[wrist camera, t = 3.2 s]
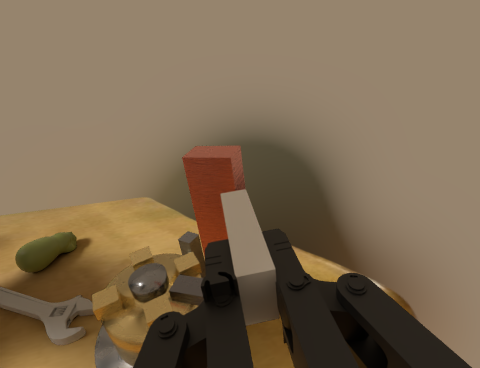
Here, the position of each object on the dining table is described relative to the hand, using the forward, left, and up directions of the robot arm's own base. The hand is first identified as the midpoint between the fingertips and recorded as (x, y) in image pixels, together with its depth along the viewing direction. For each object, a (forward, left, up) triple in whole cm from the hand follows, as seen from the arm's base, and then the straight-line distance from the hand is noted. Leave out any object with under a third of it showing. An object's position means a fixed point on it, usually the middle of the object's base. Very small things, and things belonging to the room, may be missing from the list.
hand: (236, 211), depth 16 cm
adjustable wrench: (-32, -20, -24) cm, 45 cm away
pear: (-43, -17, -24) cm, 52 cm away
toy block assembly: (-12, -2, -22) cm, 25 cm away
